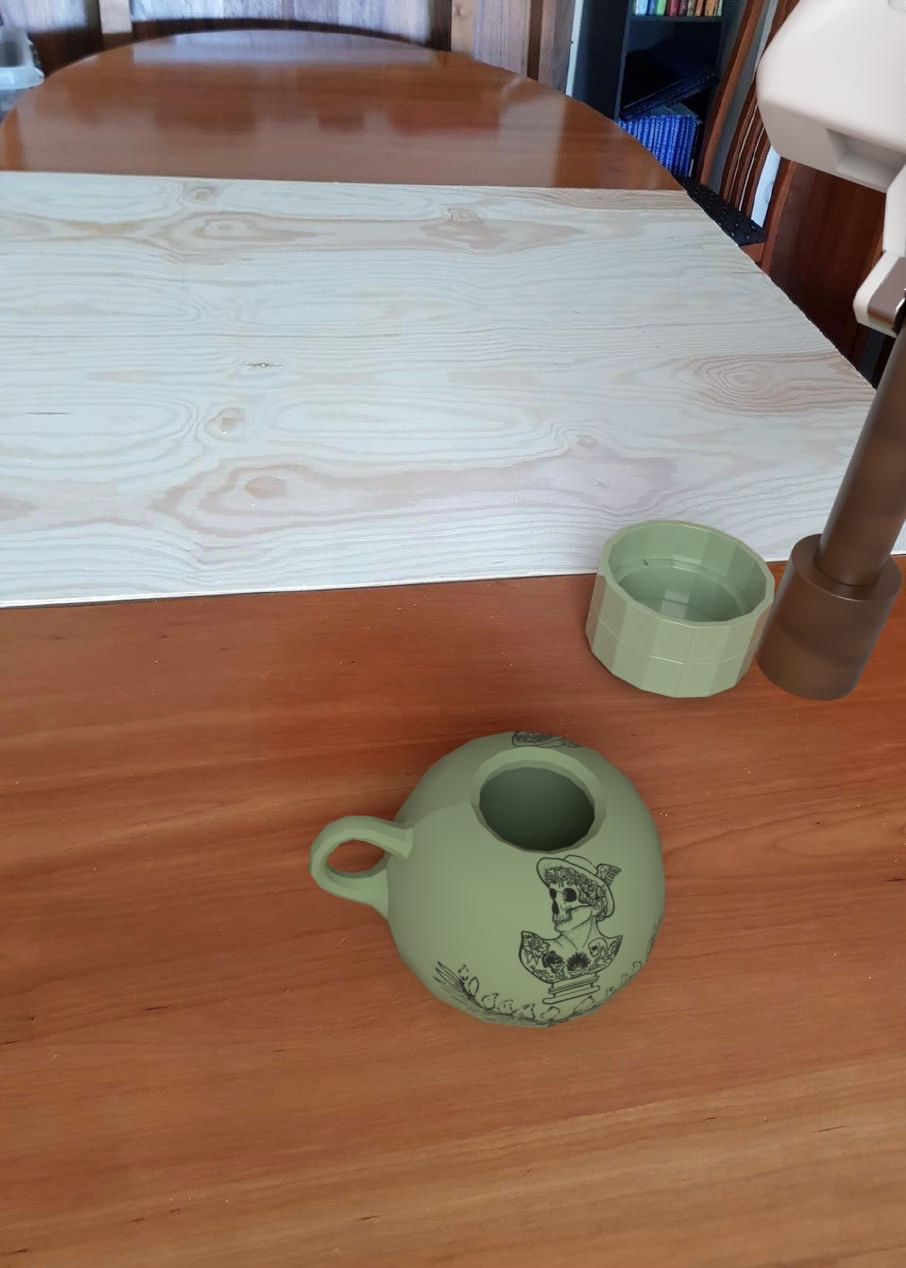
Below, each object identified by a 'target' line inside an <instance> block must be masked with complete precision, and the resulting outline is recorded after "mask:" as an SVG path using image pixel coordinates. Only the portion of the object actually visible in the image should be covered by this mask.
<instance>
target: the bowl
mask: <svg viewBox="0 0 906 1268" xmlns="http://www.w3.org/2000/svg"><path fill="white" fill-rule="evenodd" d="M602 547H603V548H602V552H601V555H600V557H599V561H598V566H597V571H596V575H595V580H594V586H593V590H592V594H591V598H590V599H591V600H590V604H589V609H588V614H587V618H586V623H585V628H584V632H585V635H586V638H587V641H588V644H589V648H590V651H591V653H592V654H593V655H594V656H595V657H596V658H597V659H598V660H599V661H600V663H601V664H602V665H603V666H604V667H605V668H606V669H607V670H608V671H609V672H610V673H611V674H612V675H613V676H615V677H617V678H619V679H621V680H622V681H625V682H626V683H628V684H629V685H631V686H633V687H635V688H637V689H639V690H641V691H646V692H649V693H654V694H657V695H661V696H666V697H669V698H675V699H678V698H679V699H680V698H681V699H682V698H707V697H712V696H714V695H716V694H718V693H722V692H724V691H727V690H729V689H732V688H734V687H735V686H736V684H737V683H739V682H740V680H741V679H742V678H743V677H744V675H746V673H748V671H749V670H750V667H751V665H752V662H753V659H754V657H755V655H756V648H757V645H758V642H759V640H760V637H761V634H762V631H763V629H764V626H765V623H766V620H767V617H768V615H769V612H770V609H771V606H772V604H773V601H774V598H775V588H776V587H775V586H776V579H775V577H774V576H773V573H772V571H771V570H770V568H769V566H768V564H767V563H766V561H765V559H764V558H763V557H762V556H761V555H760V554H758V553H757V552H756V551H755V550H753V549H752V548H751V547H750V546H749V545H748V544H746V543H745V542H744V541H743V540H741V539H739V538H737V537H734V536H733V535H730V534H728V533H726V532H725V531H722V530H720V529H718V528H715V527H713V526H709V525H704V524H700V523H695V522H691V521H688V520H687V521H686V520H682V519H649V520H645V521H640V522H638V523H634V524H631V525H630V524H629V525H627V526H624V527H621V529H619V530H618V531H617V532H616V533H614V534H613V535H612V536H610V537H609V538H608V539H607V540H605V542H604V544H603V546H602Z"/></svg>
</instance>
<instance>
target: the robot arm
mask: <svg viewBox="0 0 906 1268" xmlns="http://www.w3.org/2000/svg"><path fill="white" fill-rule="evenodd" d="M755 93H756V101H757V107H758V110H759V113H760V117H761V121H762V124H763V127H764V130H765V132H766V135H767V138H768V140H769V143H770V146H771V147H772V149H773V150H774V152H775V153H776V154H777V155H778V156H780V157H782V158H784V159H786V160H789V161H791V162H796V163H798V164H801V165H805V166H807V167H810V168H812V169H815V170H818V171H821V172H824V173H826V174H830V175H833V176H836V177H839V178H841V179H844V180H847V181H849V182H853V183H855V184H859V185H861V186H864V187H866V188H870V189H872V190H875V191H878V192H881V193H883V194H886V195H885V197H886V198H885V210H884V219H883V220H884V222H883V233H882V234H883V235H882V244H881V245H882V246H881V251H882V255H881V256H880V258H879V260H878V261H877V262H876V263H875V265H874V266H873V268H872V270H870V272H869V274H868V275H867V277H866V278H865V279H864V281H863V282H862V284H861V285H860V286H859V288H858V289H857V291H856V293H855V297H854V298H853V301H852V302H853V303H852V308H853V312H854V314H855V319H856V321H857V323H859V324H862V325H863V326H866V327H869V328H871V329H873V330H876V331H878V332H880V333H883V334H885V335H888V336H890V337H892V338H895V339H897V336H898V333H899V331H900V328H901V326H902V323H903V320H904V318H905V315H906V0H799V1H798V2H797V4H796V5H795V6H794V8H793V9H792V11H791V12H790V13H789V15H788V16H787V17H786V18H785V20H784V22H783V23H782V25H781V26H780V27H779V29H778V30H777V32H776V33H775V34H774V36H773V38H772V40H771V41H770V42H769V44H768V46H767V47H766V49H765V51H764V52H763V54H762V56H761V58H760V60H759V62H758V65H757V69H756V74H755Z"/></svg>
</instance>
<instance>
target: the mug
mask: <svg viewBox="0 0 906 1268" xmlns="http://www.w3.org/2000/svg"><path fill="white" fill-rule="evenodd" d="M313 839H314V840H313V841H312V844H311V846H310V849H309V856H308V864H307V869H308V871H309V874H310V875H311V877H312V878H313V880H314V881H315V883H316V884H317V885H318V887H319V889H322V890H324V891H326V892H327V893H329V894H331V895H333V896H336V897H338V898H342V899H345V900H348V901H352V902H356V903H357V904H362V905H365V906H369V907H371V908H372V909H373V910H375V911H376V912H377V914H379V915H380V916H381V917H382V918H384V919H385V920H386V922H387V925H388V928H389V930H390V934H391V937H392V939H393V942H394V945H395V948H396V951H397V954H398V956H399V959H400V960H401V961H402V963H404V965H405V966H406V967H407V968H408V969H409V970H410V971H411V973H413V975H414V976H415V977H416V978H417V979H418V980H419V982H420V983H421V984H422V985H423V986H424V987H425V989H427V990H428V992H429V993H430V994H431V995H432V996H433V997H434V998H435V999H437V1000H439V1001H442V1002H443V1003H445V1004H447V1005H449V1006H450V1007H453V1008H455V1009H457V1010H459V1011H462V1012H463V1013H465V1014H467V1015H470V1016H472V1017H473V1018H475V1019H478V1020H480V1021H481V1022H483V1023H486V1024H487V1023H488V1024H495V1025H504V1026H514V1027H525V1028H532V1029H533V1028H534V1029H541V1030H543V1029H545V1028H549V1027H552V1026H556V1025H560V1024H563V1023H567V1022H570V1021H573V1020H577V1019H581V1018H584V1017H588V1016H591V1015H594V1014H595V1013H596V1012H598V1011H599V1010H601V1008H602V1007H603V1006H604V1005H606V1004H607V1003H608V1002H610V1001H611V1000H612V999H613V998H614V997H615V996H617V994H619V993H620V992H621V991H622V990H624V989H625V988H626V987H627V986H628V985H630V983H631V984H632V981H633V980H634V979H635V978H636V977H637V975H638V974H639V973H640V972H641V971H642V969H643V967H644V966H646V964H647V962H648V959H649V957H650V955H651V952H652V950H653V947H654V944H655V942H656V939H657V937H658V934H659V932H660V930H661V927H662V924H663V922H664V920H665V908H666V891H667V890H666V889H667V888H666V877H665V867H664V857H663V856H664V855H663V848H662V847H663V846H662V845H663V844H662V840H661V837H660V833H659V829H658V825H657V824H656V822H655V820H654V818H653V816H652V814H651V812H650V810H649V808H648V807H647V806H646V804H645V802H644V800H643V799H642V797H641V795H640V793H639V792H638V790H637V788H636V786H635V785H634V782H633V781H632V780H631V777H629V776H627V774H625V773H624V772H623V771H622V770H621V769H619V768H618V767H617V766H615V765H614V764H613V763H612V762H611V761H610V760H608V759H607V758H606V757H605V756H603V755H602V754H601V753H600V752H598V751H597V750H594V749H592V748H590V747H587V746H585V745H581V744H580V743H577V742H574V741H572V740H570V739H567V738H565V737H563V736H559V735H557V734H549V733H540V732H530V731H520V730H512V731H507V732H501V733H497V734H492V735H485V736H481V737H477V738H472V739H471V740H469V741H467V742H466V743H464V744H463V745H461V746H459V747H457V748H456V749H454V750H452V751H451V752H449V753H448V754H445V755H444V756H442V757H441V758H439V759H438V760H437V761H435V762H434V763H433V764H432V765H431V766H430V767H429V768H428V769H427V771H426V772H425V773H424V775H423V776H422V777H421V779H420V780H419V781H418V782H417V784H416V785H415V786H414V788H413V790H412V791H411V792H410V794H409V795H408V797H407V798H406V799H405V801H404V803H403V804H402V806H401V807H400V809H399V810H398V811H397V813H396V814H395V816H394V817H393V821H391V820H387V819H384V818H379V817H376V816H372V815H346V816H343V817H341V818H339V819H336V820H334V821H331V822H329V823H327V824H326V825H325V826H324V828H323V829H322V830H321V831H319V833H318V835H316V837H315V838H313ZM353 840H355V841H361V842H366V843H368V844H371V845H374V846H376V847H378V848H381V849H383V856H382V858H381V859H380V860H379V861H377V863H376V864H374V865H373V867H371V868H369V869H364V870H360V871H356V872H351V871H341V870H339V869H336V868H334V867H333V866H330V865H329V863H328V859H329V856H330V854H331V853H332V852H333V851H334V850H335V849H337V847H338V846H339V845H340V844H343V843H347V842H350V841H353Z"/></svg>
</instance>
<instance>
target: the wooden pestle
mask: <svg viewBox="0 0 906 1268" xmlns="http://www.w3.org/2000/svg"><path fill="white" fill-rule="evenodd" d="M895 339H896V340H895V341H894V344H893V347H892V350H891V352H890V355H889V357H888V359H887V363H886V365H885V368H884V371H883V373H882V376H881V379H880V381H879V384H878V386H877V388H876V391H875V394H874V396H873V399H872V402H871V404H870V407H869V410H868V412H867V415H866V417H865V420H864V423H863V424H862V428H861V431H860V434H859V436H858V438H857V441H856V444H855V447H854V449H853V452H852V453H851V457H850V460H849V462H848V465H847V468H846V470H845V472H844V476H843V478H842V481H841V483H840V486H839V489H838V491H837V493H836V497H835V499H834V501H833V504H832V507H831V509H830V512H829V515H828V518H827V520H826V523H825V526H824V528H823V531H822V532H821V533H814V534H810V535H807V536H805V537H802V538H801V539H799V540H798V541H797V542H796V543H795V544H794V545H793V547H792V549H791V551H790V554H789V557H788V559H787V562H786V565H785V568H784V571H783V574H782V575H781V576H782V577H781V579H780V581H779V584H778V587H777V589H776V592H775V594H774V601H773V603H772V606H771V609H770V612H769V615H768V617H767V620H766V623H765V626H764V629H763V631H762V634H761V637H760V640H759V642H758V645H757V648H756V651H755V659H756V663H757V666H758V667H759V669H760V671H761V673H762V674H763V675H764V676H765V678H767V680H768V681H770V682H771V683H772V684H773V685H774V686H776V687H778V688H779V689H781V690H782V691H784V692H786V693H788V694H791V695H793V696H795V697H799V698H802V699H807V700H811V701H822V702H823V701H825V702H826V701H833V700H838V699H841V698H844V697H846V696H848V695H849V694H850V693H852V692H853V691H854V690H855V688H857V685H858V683H859V681H860V679H861V676H862V674H863V672H864V670H865V668H866V665H867V663H868V661H869V659H870V657H871V655H872V653H873V650H874V648H875V646H876V644H877V642H878V639H879V637H880V635H881V633H882V631H883V629H884V627H885V625H886V622H887V621H888V618H889V616H890V613H891V611H892V609H893V608H894V605H895V602H896V600H897V598H898V596H899V594H900V592H901V590H902V588H903V583H904V577H903V572H902V570H901V568H900V566H899V564H898V562H896V561H895V560H894V559H893V557H891V554H892V551H893V549H894V547H895V544H896V542H897V540H898V538H899V535H900V533H901V531H902V528H903V526H904V524H905V522H906V315H905V318H904V320H903V323H902V326H901V328H900V331H899V333H898V336H897V338H895Z"/></svg>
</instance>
